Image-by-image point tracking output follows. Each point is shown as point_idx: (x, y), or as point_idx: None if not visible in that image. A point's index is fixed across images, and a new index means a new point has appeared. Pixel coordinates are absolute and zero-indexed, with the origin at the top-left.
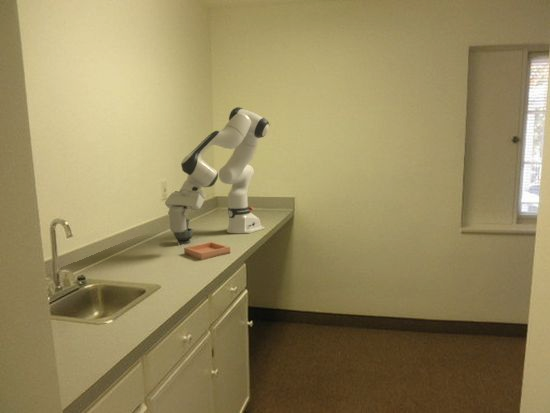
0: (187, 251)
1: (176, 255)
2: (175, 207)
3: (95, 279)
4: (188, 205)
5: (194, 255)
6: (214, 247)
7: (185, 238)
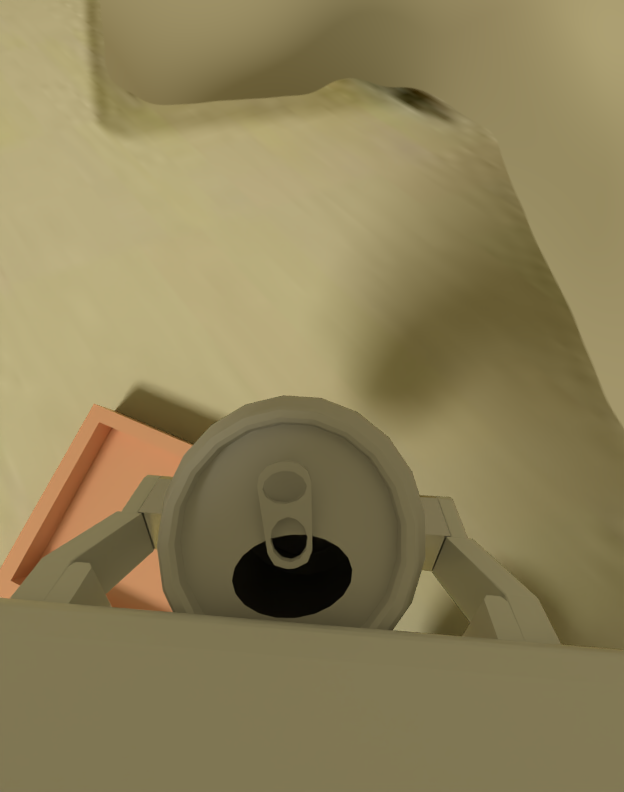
0: None
1: None
2: (242, 425)
3: (362, 105)
4: (13, 600)
5: (169, 434)
6: None
7: None
